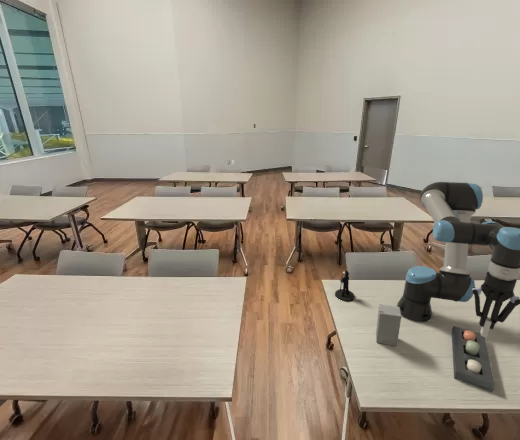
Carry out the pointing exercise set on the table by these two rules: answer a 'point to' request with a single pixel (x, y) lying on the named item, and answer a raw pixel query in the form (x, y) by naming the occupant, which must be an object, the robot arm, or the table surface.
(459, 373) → the panel
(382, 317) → the skincare box
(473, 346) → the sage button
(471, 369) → the white glossy ball
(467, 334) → the coral button
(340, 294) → the figurine
